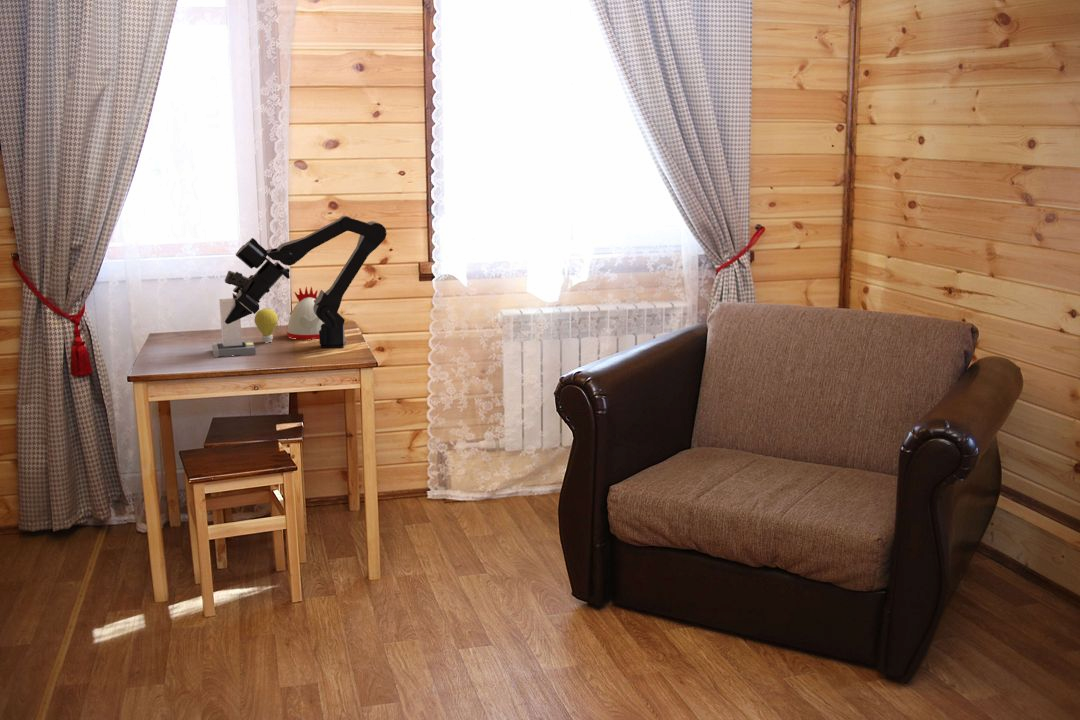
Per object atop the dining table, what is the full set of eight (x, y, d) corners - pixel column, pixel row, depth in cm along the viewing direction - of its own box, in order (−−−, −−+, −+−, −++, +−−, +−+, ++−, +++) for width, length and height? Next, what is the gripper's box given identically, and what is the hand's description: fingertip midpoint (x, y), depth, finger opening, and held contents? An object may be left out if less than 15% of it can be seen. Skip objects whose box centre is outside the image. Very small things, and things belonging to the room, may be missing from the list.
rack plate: (252, 347, 304) (252, 340, 303) (255, 354, 294) (255, 346, 294) (212, 350, 300) (212, 342, 300) (214, 357, 291) (213, 349, 290)
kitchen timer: (288, 332, 327) (285, 284, 323) (333, 330, 329) (331, 282, 326) (286, 341, 313) (284, 290, 310) (334, 339, 316) (332, 289, 313)
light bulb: (267, 345, 307) (265, 311, 304) (250, 343, 310) (248, 309, 308) (284, 341, 312) (282, 308, 310) (267, 339, 316) (265, 306, 313)
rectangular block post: (240, 341, 300) (237, 298, 297) (242, 345, 295) (239, 300, 292) (222, 343, 298) (219, 299, 295) (223, 346, 293) (220, 301, 291)
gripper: (238, 256, 301) (201, 297, 300) (243, 264, 284) (203, 307, 283) (269, 282, 306) (232, 323, 305) (275, 291, 288) (236, 334, 287)
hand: (225, 321), depth 295 cm, fingers closed on rectangular block post, 5 cm apart
